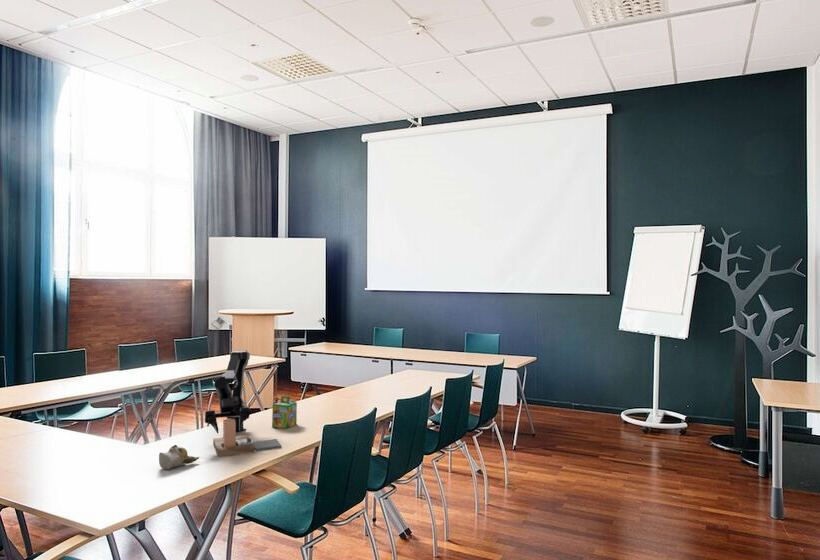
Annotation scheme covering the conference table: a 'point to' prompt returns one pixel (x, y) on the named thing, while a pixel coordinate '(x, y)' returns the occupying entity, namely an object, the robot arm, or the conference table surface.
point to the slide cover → (244, 442)
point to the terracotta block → (229, 432)
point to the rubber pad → (266, 444)
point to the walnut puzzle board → (234, 449)
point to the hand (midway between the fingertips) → (229, 431)
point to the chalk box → (284, 413)
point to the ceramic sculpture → (175, 457)
